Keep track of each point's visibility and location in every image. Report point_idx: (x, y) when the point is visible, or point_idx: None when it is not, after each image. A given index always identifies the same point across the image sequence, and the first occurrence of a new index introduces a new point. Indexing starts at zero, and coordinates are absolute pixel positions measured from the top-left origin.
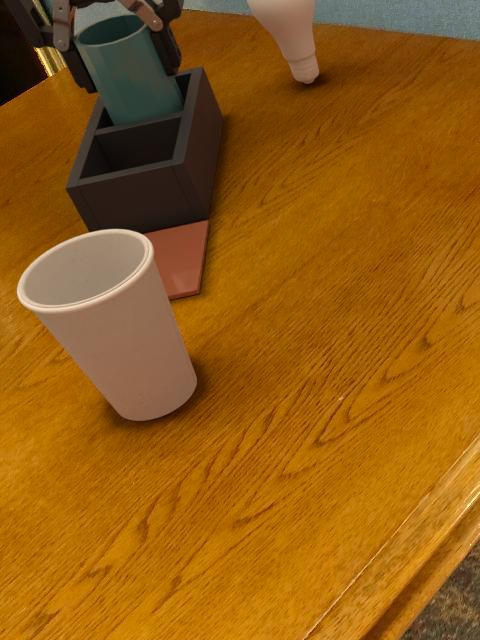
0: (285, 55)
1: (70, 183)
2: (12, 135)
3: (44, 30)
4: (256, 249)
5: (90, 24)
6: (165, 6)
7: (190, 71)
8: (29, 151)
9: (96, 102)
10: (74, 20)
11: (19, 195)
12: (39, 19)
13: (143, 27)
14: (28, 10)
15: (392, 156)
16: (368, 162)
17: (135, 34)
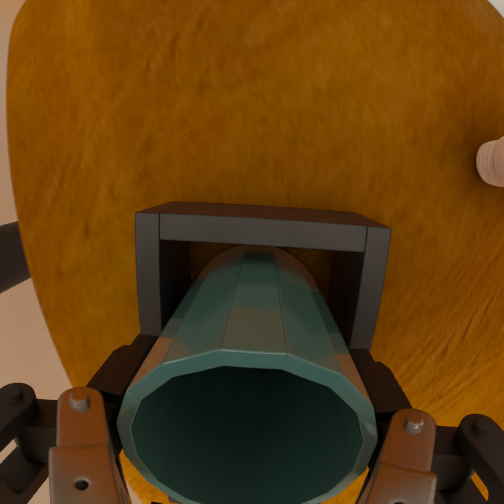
0: (502, 178)
1: (173, 498)
2: (9, 102)
3: (48, 458)
4: (346, 498)
5: (146, 377)
6: (436, 498)
7: (363, 244)
8: (30, 164)
9: (140, 289)
10: (108, 434)
11: (47, 299)
12: (13, 435)
13: (349, 480)
14: (15, 502)
15: (492, 404)
16: (475, 409)
17: (322, 500)
